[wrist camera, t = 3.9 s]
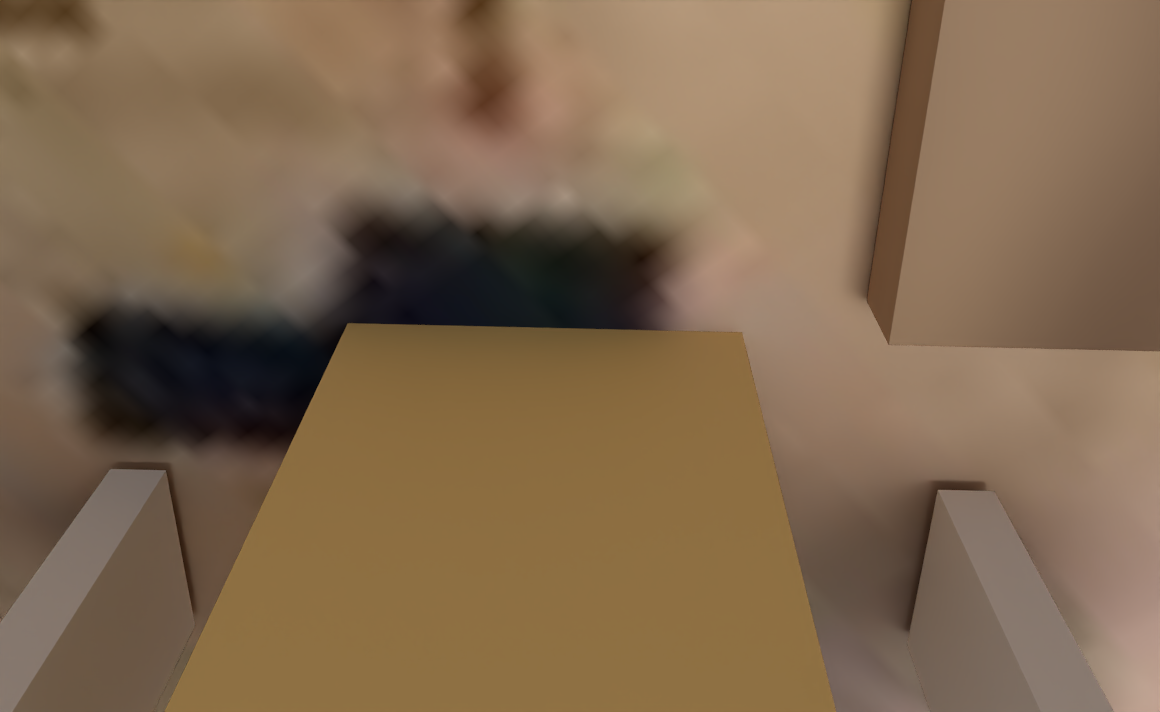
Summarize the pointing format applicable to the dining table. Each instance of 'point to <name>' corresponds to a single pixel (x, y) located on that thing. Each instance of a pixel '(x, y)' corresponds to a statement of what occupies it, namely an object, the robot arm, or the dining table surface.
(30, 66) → the dining table surface
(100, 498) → the robot arm
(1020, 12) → the shelf board
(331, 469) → the tea box
